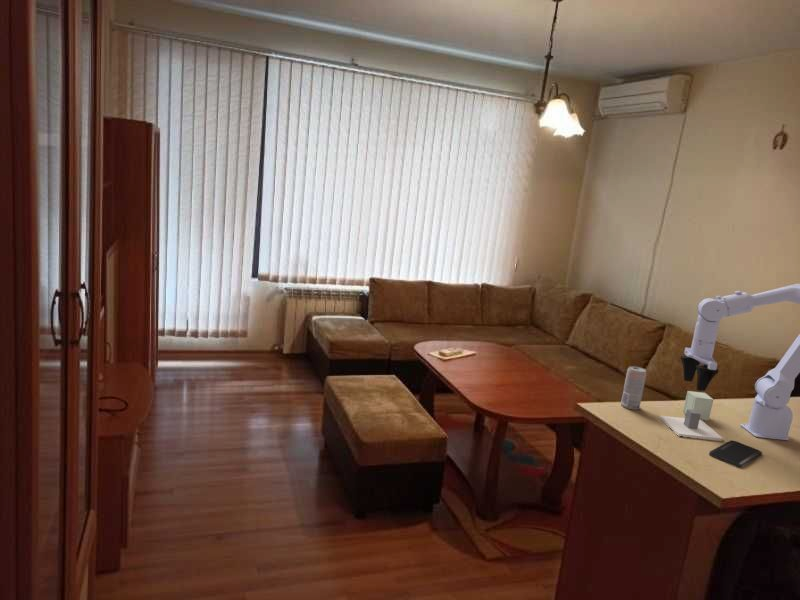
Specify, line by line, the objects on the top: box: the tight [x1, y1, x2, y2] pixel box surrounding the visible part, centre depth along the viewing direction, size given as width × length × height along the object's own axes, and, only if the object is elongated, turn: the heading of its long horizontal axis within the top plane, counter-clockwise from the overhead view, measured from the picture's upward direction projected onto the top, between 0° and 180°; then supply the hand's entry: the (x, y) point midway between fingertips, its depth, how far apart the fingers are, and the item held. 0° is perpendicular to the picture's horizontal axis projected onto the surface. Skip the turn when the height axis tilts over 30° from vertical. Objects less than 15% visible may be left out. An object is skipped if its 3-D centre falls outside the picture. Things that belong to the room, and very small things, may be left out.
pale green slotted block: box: [682, 390, 714, 421], centre depth 172 cm, size 5×5×7 cm
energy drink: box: [620, 365, 647, 411], centre depth 173 cm, size 5×5×12 cm
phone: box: [708, 440, 763, 469], centre depth 148 cm, size 8×1×15 cm
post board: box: [659, 409, 724, 442], centre depth 161 cm, size 12×12×5 cm
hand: (694, 385), depth 168 cm, fingers open, 7 cm apart
